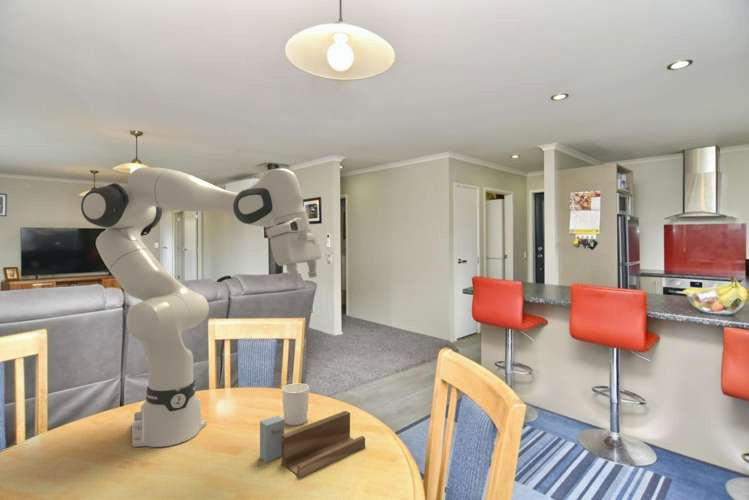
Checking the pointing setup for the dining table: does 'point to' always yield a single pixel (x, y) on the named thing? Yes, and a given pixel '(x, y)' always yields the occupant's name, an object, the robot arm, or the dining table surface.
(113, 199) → the robot arm
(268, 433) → the cabinet block
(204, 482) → the dining table surface
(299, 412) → the white cup
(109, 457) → the dining table surface
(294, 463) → the cleat board
